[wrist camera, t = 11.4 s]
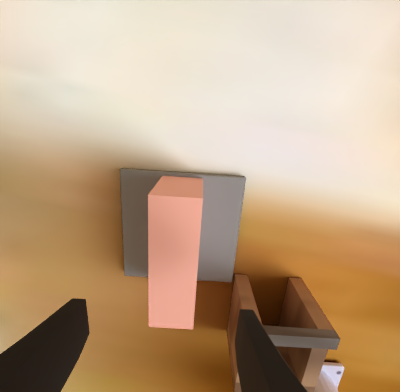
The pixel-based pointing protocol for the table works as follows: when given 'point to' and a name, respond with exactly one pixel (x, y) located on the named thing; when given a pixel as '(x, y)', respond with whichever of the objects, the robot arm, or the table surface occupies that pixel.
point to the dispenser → (287, 330)
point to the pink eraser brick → (173, 250)
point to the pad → (210, 223)
